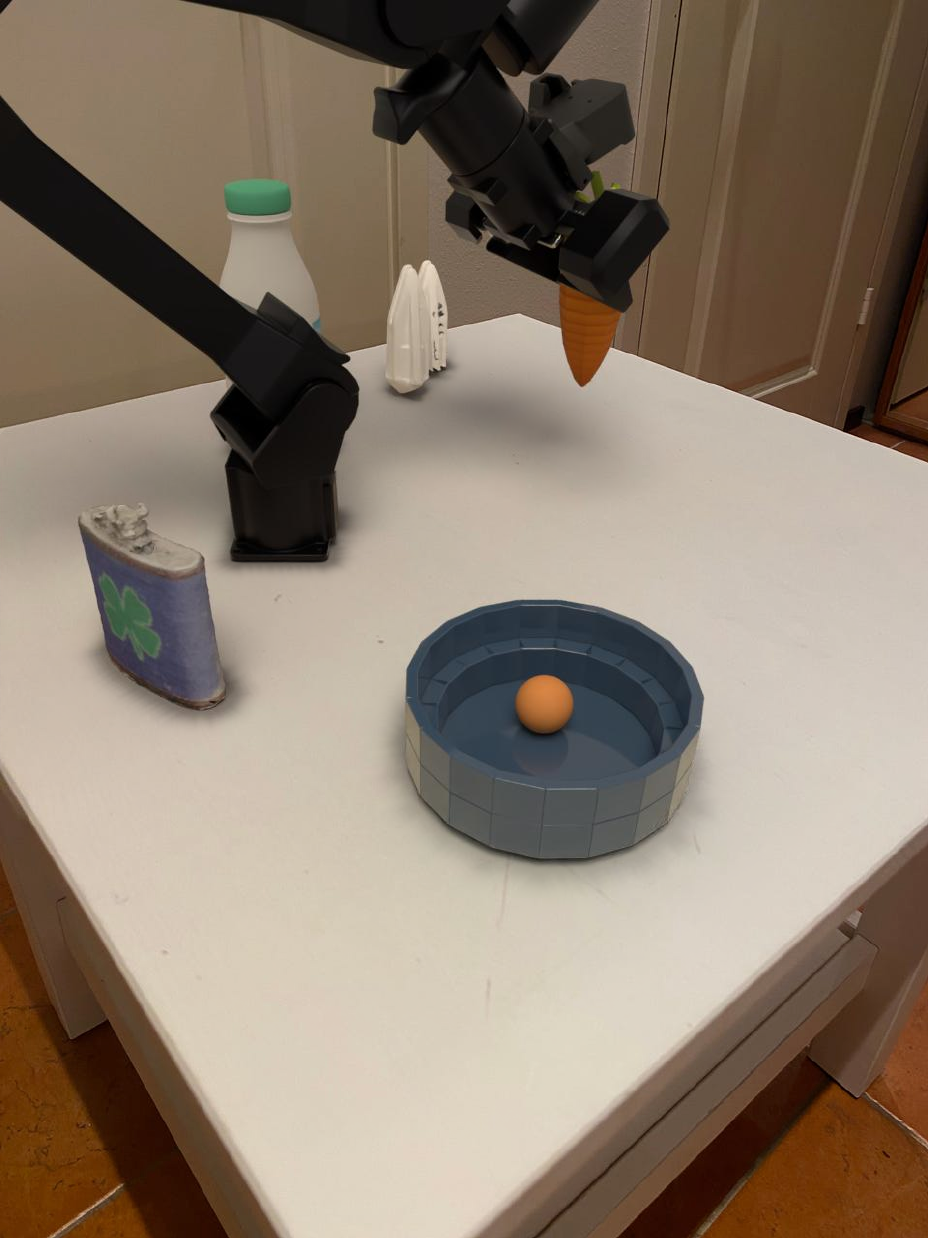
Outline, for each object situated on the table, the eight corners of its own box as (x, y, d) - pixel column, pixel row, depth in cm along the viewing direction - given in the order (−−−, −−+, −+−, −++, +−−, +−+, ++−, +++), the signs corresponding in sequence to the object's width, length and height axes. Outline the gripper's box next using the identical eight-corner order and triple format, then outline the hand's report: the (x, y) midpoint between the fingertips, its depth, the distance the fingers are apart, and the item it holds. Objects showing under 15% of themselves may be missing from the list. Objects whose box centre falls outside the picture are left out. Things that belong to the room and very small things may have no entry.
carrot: (611, 401, 69) (639, 182, 61) (545, 394, 70) (564, 177, 62) (616, 378, 73) (643, 170, 65) (553, 371, 74) (572, 165, 66)
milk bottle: (314, 470, 74) (292, 197, 62) (220, 461, 75) (182, 191, 63) (340, 430, 80) (324, 176, 68) (253, 423, 81) (224, 170, 69)
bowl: (404, 869, 42) (402, 790, 39) (409, 671, 53) (408, 599, 50) (717, 865, 42) (738, 787, 39) (654, 670, 54) (667, 598, 51)
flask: (236, 694, 51) (208, 524, 45) (193, 722, 49) (158, 549, 43) (135, 630, 56) (97, 468, 50) (91, 653, 54) (47, 488, 48)
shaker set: (421, 405, 85) (421, 280, 78) (377, 400, 85) (373, 276, 79) (452, 360, 94) (454, 245, 88) (412, 356, 95) (411, 242, 89)
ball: (516, 722, 50) (541, 672, 50) (565, 746, 49) (589, 694, 49) (497, 714, 47) (522, 660, 47) (547, 739, 46) (573, 684, 46)
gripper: (671, 40, 50) (771, 237, 61) (487, 19, 63) (597, 184, 74) (539, 209, 51) (661, 372, 62) (385, 154, 64) (509, 297, 75)
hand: (605, 297), depth 69 cm, fingers closed on carrot, 5 cm apart
